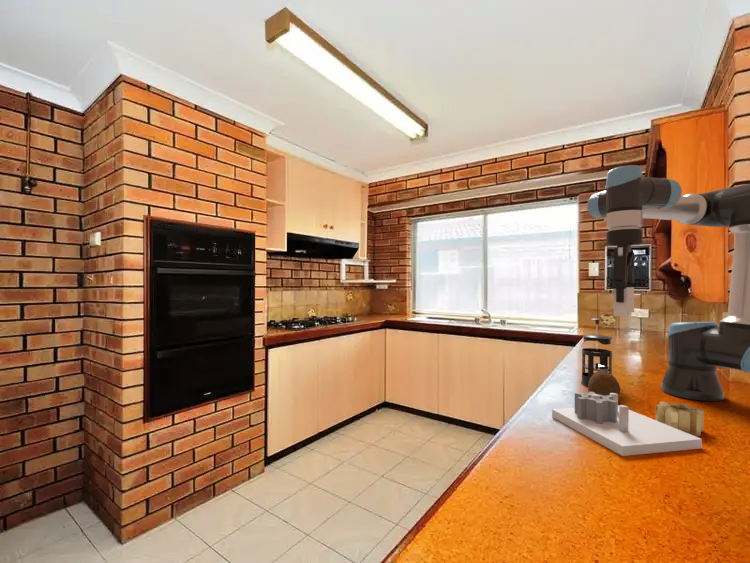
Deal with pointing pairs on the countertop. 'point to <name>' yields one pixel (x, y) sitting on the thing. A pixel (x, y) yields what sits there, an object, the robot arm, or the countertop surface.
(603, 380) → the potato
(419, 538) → the countertop surface
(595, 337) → the french press
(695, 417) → the brass gear
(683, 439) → the gear board
